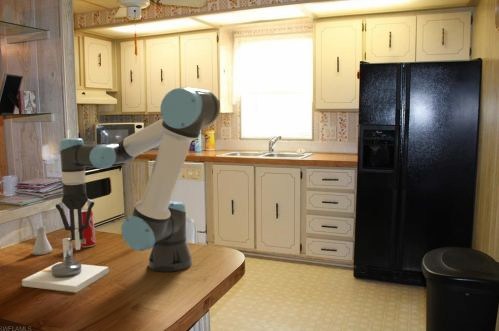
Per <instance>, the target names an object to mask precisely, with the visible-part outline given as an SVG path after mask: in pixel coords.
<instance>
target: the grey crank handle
mask: <svg viewBox="0 0 499 331" xmlns="http://www.w3.org/2000/svg"><path fill="white" fill-rule="evenodd" d="M61 242H62V255H63V257H62V258H63V263H59V264H56V263H55V264H56V265H54V264H53V265H54V266H53V267H52V268H51V269H52V276H54V277H69V276H73V275H76V274H78V273H80V272H81V264H82V263H81V262H79V261H74V254H73V253H74V252H73V240H72V237H65V238H62V241H61Z"/></svg>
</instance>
